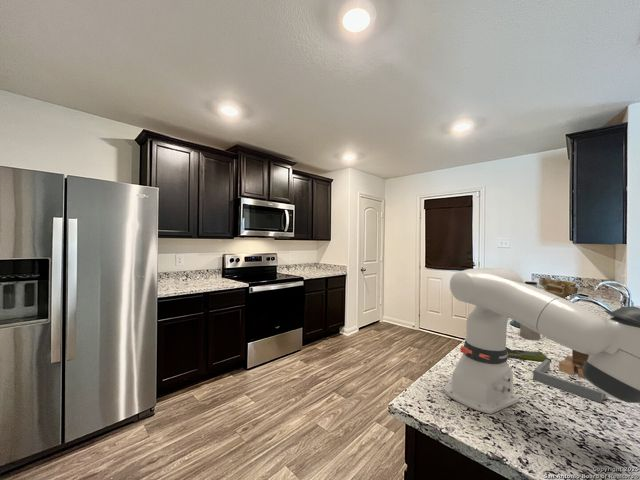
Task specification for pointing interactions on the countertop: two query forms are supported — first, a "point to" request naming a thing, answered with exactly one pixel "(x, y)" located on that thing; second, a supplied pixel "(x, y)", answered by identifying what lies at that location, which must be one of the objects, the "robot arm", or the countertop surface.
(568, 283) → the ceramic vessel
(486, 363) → the robot arm
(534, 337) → the thermos bottle
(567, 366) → the offcut left
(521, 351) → the gun
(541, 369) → the grey u-shaped frame
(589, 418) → the countertop surface
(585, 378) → the offcut right
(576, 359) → the wooden post block
